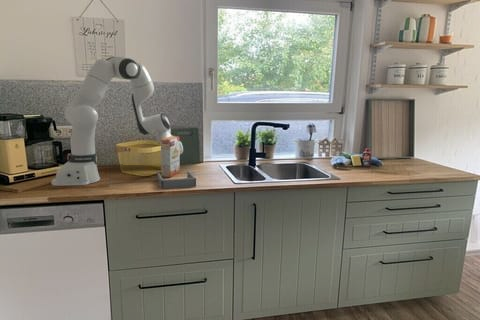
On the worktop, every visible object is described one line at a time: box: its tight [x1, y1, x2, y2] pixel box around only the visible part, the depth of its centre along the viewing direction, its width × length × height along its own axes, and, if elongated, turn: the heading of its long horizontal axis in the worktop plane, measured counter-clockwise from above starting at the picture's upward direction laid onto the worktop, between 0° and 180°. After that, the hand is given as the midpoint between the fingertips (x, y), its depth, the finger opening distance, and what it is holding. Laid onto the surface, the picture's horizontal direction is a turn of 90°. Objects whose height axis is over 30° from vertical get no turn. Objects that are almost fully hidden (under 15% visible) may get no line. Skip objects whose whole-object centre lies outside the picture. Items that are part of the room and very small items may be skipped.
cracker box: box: [160, 135, 181, 178], centre depth 191 cm, size 14×6×21 cm, turn 168°
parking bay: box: [156, 170, 197, 190], centre depth 176 cm, size 17×17×4 cm
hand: (167, 159), depth 203 cm, fingers closed
